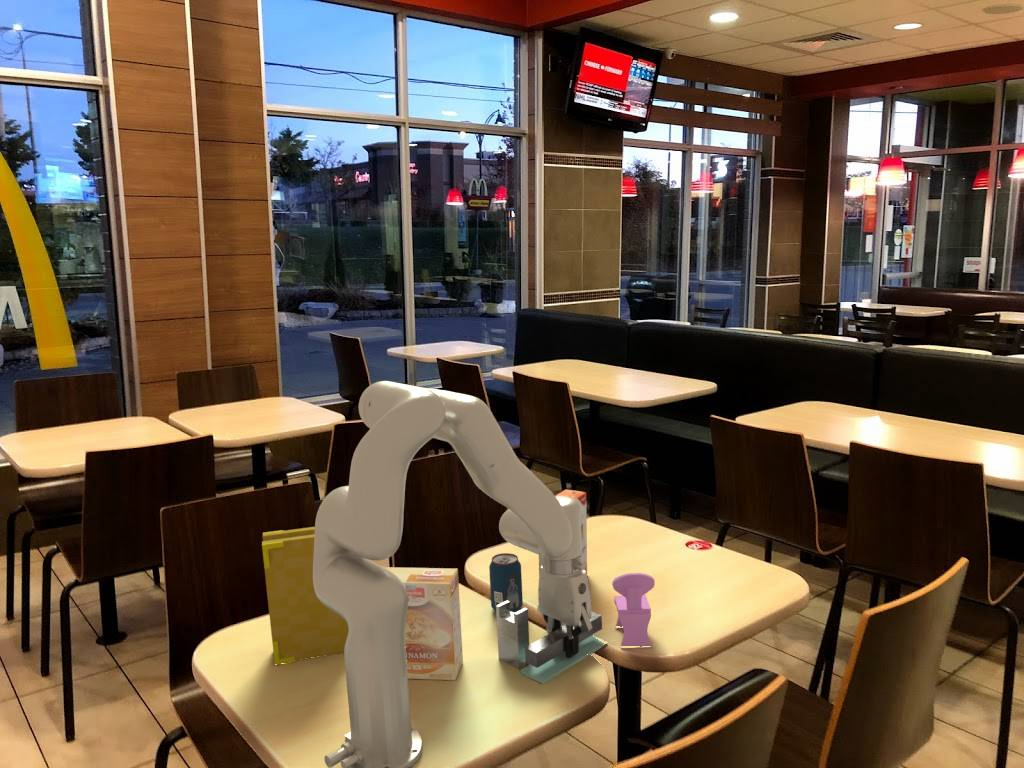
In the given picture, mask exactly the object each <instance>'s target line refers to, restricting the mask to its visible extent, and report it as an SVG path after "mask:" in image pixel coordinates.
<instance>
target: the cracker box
mask: <svg viewBox="0 0 1024 768" xmlns="http://www.w3.org/2000/svg"><path fill="white" fill-rule="evenodd" d="M555 496H567V497H572V498H574V499H576V500H577V501H578V502H579V504H580V510H581V543H582V563H584V564H585V569H584V570H585V571H586V574H587V575H588V548H587V547H588V543H587V542H588V540H587V539H588V536H587V534H588V531H587V528H588V527H587V520H588V519H587V518H588V517H587V492H585V491H579V490H573V489H564V490H562V491H561V492H559V493H558V494H556V495H555ZM541 566H542V556H541V555H538V576H539V575H540V569H541Z"/></svg>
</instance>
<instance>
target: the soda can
mask: <svg viewBox="0 0 1024 768" xmlns="http://www.w3.org/2000/svg"><path fill="white" fill-rule="evenodd" d="M522 575H523V574H522V565H521V562H520V560H519V558H518V555H516V554H514V553H508V552H507V553H505V552H504V553H498V554H495V555H493V556H492V558H491V561H490V564H489V590H490V606H491V609H492V610H493V611H494V612H495V614H496V606H497V605H499V604H501V603H503V602H505V601H507V600H508V601H510V611H511V612H514V613H515V612H517V611H519V610H521V609H522V607H523V605H524V603H523V581H522V580H523V579H522Z"/></svg>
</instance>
